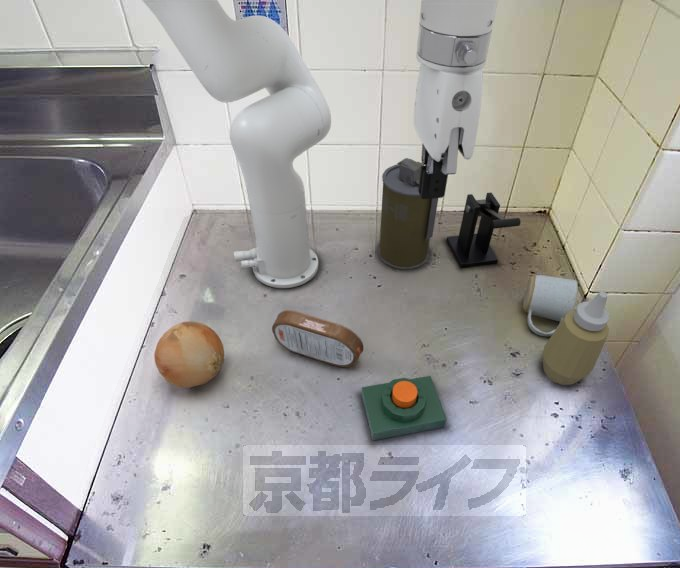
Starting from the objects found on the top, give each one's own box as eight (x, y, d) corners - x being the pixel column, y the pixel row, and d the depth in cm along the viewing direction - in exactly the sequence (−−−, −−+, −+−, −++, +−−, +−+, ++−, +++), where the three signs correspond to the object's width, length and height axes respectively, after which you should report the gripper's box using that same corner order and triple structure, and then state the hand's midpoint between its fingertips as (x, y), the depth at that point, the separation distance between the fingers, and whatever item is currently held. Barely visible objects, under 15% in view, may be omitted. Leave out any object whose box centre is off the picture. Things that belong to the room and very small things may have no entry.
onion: (216, 404, 71) (200, 364, 63) (153, 394, 72) (130, 353, 64) (239, 355, 77) (227, 313, 70) (181, 345, 78) (164, 303, 71)
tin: (363, 361, 78) (365, 328, 72) (356, 376, 76) (357, 343, 70) (281, 336, 81) (275, 301, 74) (272, 349, 78) (265, 315, 72)
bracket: (496, 264, 96) (512, 211, 87) (460, 268, 95) (472, 215, 85) (480, 237, 102) (494, 185, 93) (446, 241, 101) (456, 188, 91)
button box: (372, 440, 68) (373, 426, 65) (361, 395, 73) (362, 380, 70) (444, 427, 70) (448, 413, 67) (428, 383, 76) (431, 368, 73)
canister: (367, 253, 96) (370, 163, 82) (399, 231, 102) (408, 143, 87) (408, 278, 92) (420, 188, 77) (440, 253, 98) (456, 165, 83)
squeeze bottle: (587, 396, 75) (638, 320, 62) (536, 386, 76) (575, 309, 63) (583, 357, 81) (629, 280, 68) (535, 348, 82) (571, 270, 68)
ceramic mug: (522, 293, 91) (533, 263, 85) (565, 302, 90) (580, 272, 84) (518, 333, 84) (530, 303, 78) (564, 343, 83) (580, 314, 77)
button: (395, 410, 68) (396, 403, 66) (389, 389, 70) (390, 382, 69) (419, 405, 68) (420, 399, 67) (412, 385, 71) (413, 379, 69)
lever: (519, 229, 82) (521, 216, 81) (493, 232, 81) (494, 219, 80) (490, 210, 93) (491, 198, 91) (466, 213, 92) (467, 200, 90)
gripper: (514, 70, 46) (476, 225, 59) (462, 21, 55) (440, 164, 69) (441, 73, 44) (419, 231, 58) (400, 22, 54) (390, 168, 68)
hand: (430, 194), depth 63 cm, fingers closed
